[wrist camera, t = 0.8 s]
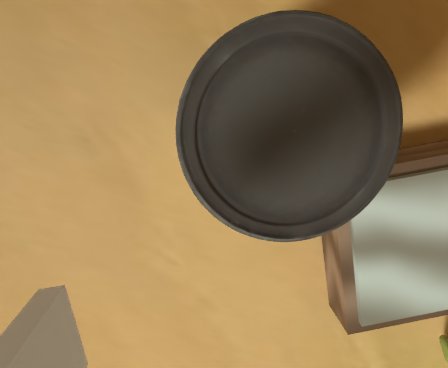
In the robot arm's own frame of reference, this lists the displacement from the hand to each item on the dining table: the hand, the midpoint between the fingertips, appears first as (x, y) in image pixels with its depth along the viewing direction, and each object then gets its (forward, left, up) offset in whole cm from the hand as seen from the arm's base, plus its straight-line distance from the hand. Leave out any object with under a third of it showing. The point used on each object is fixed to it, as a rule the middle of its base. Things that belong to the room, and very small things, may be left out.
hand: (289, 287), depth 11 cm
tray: (+8, +14, -20) cm, 26 cm away
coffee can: (-4, +2, -20) cm, 21 cm away
